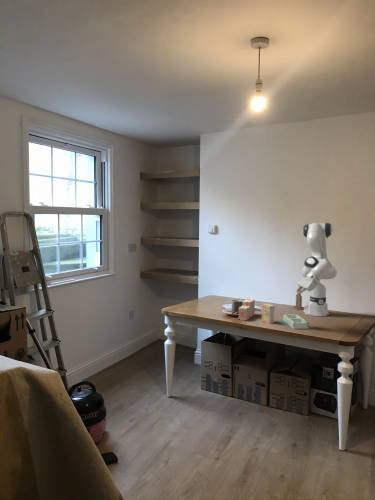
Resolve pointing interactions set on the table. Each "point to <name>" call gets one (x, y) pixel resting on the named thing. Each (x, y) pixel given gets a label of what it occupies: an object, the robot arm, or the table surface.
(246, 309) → the stack of blocks
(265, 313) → the supplement box
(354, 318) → the table surface
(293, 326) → the rack
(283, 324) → the mat
